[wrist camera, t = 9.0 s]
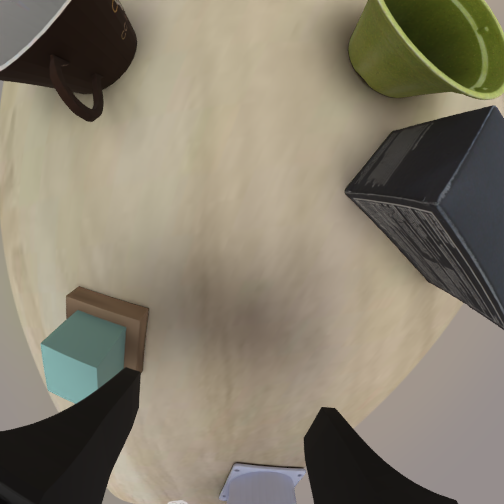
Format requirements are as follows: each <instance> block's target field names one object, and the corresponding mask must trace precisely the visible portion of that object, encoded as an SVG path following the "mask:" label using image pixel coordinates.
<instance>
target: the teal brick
mask: <svg viewBox="0 0 504 504" xmlns="http://www.w3.org/2000/svg"><path fill="white" fill-rule="evenodd" d="M125 337H126V327H124V326H121V325H118V324H115V323H112V322H109V321H106V320H103V319H101V318H98V317H95V316H92V315H90V314H87V313H84V312H82V311H79V310H77V311H76V312H75V313H73V314H72V315H71V316H70V317H69V318H68V319H67V320H66V321H65V322H63V323H62V324H61V325H60V326H59V327H58V328H57V329H56V330H55V331H53V332H52V333H51V334H50V335H49V336H48V337H47V338H46V339H45V340H44V341H43V342H42V343H41V351H42V358H43V365H44V371H45V377H46V383H47V388H48V391H50V392H52V393H54V394H56V395H58V396H60V397H62V398H64V399H66V400H68V401H71V402H73V403H75V404H76V403H78V402H79V401H81V400H83V399H84V398H86V397H87V396H89V395H90V394H92V393H93V392H94V391H96V390H97V389H98V388H100V387H101V386H103V385H104V384H105V383H106V382H108V381H109V380H110V379H111V378H113V377H114V376H115V375H116V374H117V373H119V372H120V371H121V370H122V369H123V368H124V352H125Z"/></svg>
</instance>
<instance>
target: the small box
mask: <svg viewBox="0 0 504 504" xmlns="http://www.w3.org/2000/svg"><path fill="white" fill-rule="evenodd" d="M345 194H346V195H347V196H348V197H349V198H350V199H351V200H352V201H353V202H354V203H355V204H356V205H357V206H358V207H359V208H360V209H361V210H362V211H363V212H364V213H365V214H366V215H367V216H368V217H369V218H370V219H371V220H372V221H373V222H374V223H375V224H376V225H377V226H378V227H379V228H380V229H381V230H382V231H383V232H384V233H385V234H386V235H387V236H388V238H390V240H391V241H392V242H393V243H394V244H395V245H396V246H397V247H398V248H399V249H400V251H401V252H402V253H403V254H404V255H405V256H406V257H407V258H408V259H409V261H410V262H411V263H412V264H413V265H414V266H415V267H416V268H417V269H418V271H419V272H420V273H421V274H422V275H423V276H424V277H425V278H426V280H427V281H428V282H429V283H431V284H433V285H435V286H436V287H438V288H440V289H442V290H444V291H445V292H447V293H449V294H451V295H452V296H454V297H456V298H457V299H459V300H460V301H462V302H463V303H465V304H467V305H468V306H469V307H470V308H472V309H474V310H475V311H477V312H478V313H480V314H481V315H483V316H484V317H486V318H487V319H489V320H490V321H492V322H493V323H495V324H496V325H498V326H499V327H500V328H502V329H503V330H504V118H503V116H502V115H501V113H500V111H499V110H498V108H497V107H496V106H489V107H484V108H481V109H477V110H473V111H468V112H464V113H461V114H456V115H452V116H448V117H444V118H440V119H437V120H433V121H429V122H425V123H421V124H417V125H414V126H410V127H407V128H403V129H400V130H395V131H393V132H392V133H391V134H390V135H389V136H388V137H387V139H386V140H385V141H384V142H383V143H382V145H381V146H380V147H379V149H378V150H377V151H376V152H375V153H374V155H373V156H372V157H371V158H370V160H369V161H368V162H367V163H366V165H365V166H364V167H363V168H362V170H361V171H360V172H359V173H358V174H357V176H356V177H355V178H354V179H353V181H352V182H351V183H350V184H349V185H348V187H347V188H346V190H345Z"/></svg>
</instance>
